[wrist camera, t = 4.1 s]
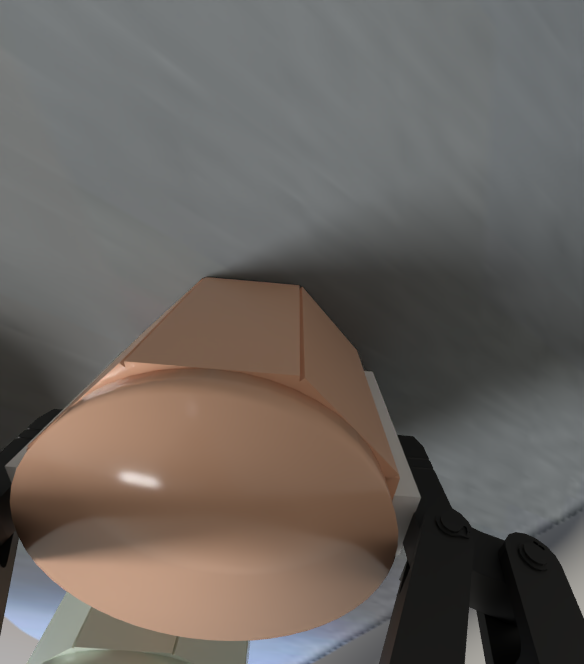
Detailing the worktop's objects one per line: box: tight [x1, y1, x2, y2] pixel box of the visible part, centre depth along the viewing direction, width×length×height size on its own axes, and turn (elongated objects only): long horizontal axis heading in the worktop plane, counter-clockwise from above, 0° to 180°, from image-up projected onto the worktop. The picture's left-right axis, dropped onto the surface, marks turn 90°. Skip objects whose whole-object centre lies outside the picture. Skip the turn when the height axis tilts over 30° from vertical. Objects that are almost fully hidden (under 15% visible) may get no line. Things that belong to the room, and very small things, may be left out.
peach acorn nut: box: [10, 277, 400, 641], centre depth 12 cm, size 10×10×8 cm
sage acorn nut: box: [27, 592, 250, 664], centre depth 18 cm, size 10×10×8 cm
